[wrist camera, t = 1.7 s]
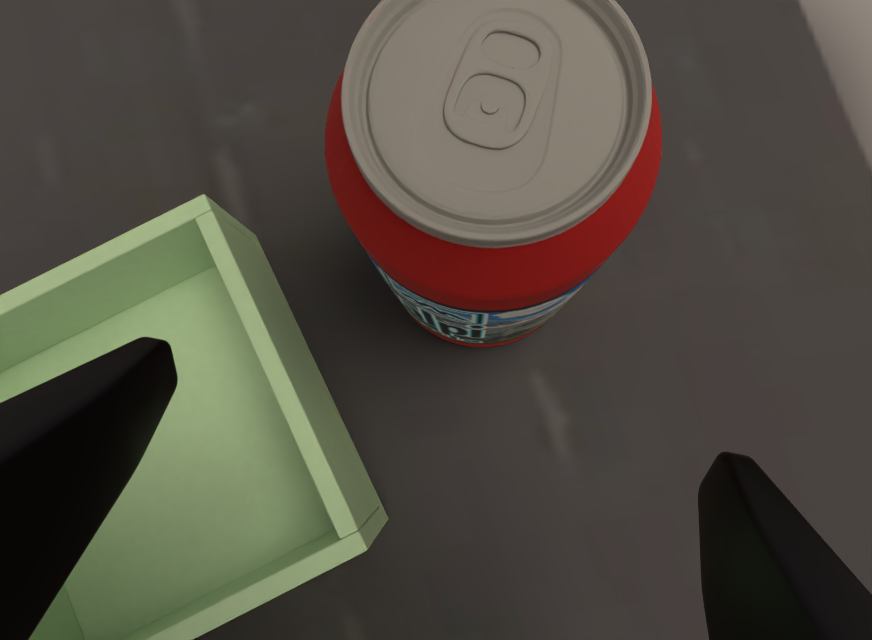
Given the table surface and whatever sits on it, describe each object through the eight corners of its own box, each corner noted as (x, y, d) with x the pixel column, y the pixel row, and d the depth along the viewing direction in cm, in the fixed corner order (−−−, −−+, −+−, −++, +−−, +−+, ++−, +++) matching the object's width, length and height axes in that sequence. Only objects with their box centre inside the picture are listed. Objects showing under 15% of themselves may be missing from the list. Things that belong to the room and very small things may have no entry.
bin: (389, 519, 21) (367, 550, 16) (90, 672, 21) (-14, 745, 16) (255, 234, 23) (204, 192, 18) (-21, 372, 22) (-142, 364, 18)
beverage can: (364, 314, 22) (240, 207, 10) (427, 150, 23) (380, -128, 11) (538, 376, 21) (625, 341, 9) (596, 206, 22) (745, -26, 10)
